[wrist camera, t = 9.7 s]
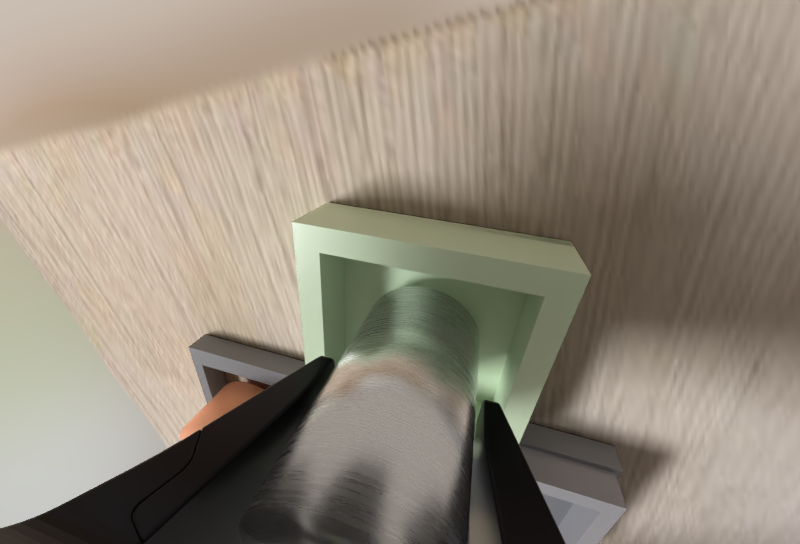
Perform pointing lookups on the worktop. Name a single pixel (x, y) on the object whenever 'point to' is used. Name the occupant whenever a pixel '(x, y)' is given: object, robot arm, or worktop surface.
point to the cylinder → (221, 405)
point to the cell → (382, 436)
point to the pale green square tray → (442, 290)
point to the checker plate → (542, 447)
